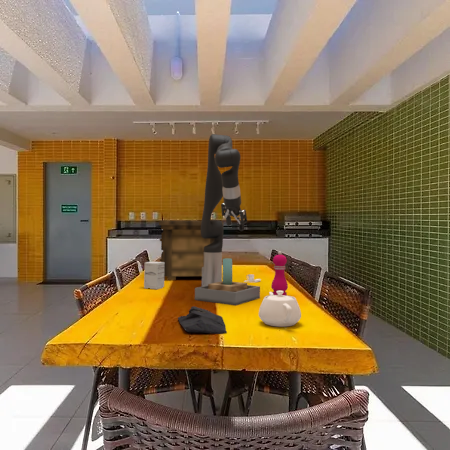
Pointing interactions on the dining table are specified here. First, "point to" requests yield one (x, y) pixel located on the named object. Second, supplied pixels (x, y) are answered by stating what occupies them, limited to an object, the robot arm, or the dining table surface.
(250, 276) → the teacup and saucer
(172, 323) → the dining table surface
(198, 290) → the tray
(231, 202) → the robot arm
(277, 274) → the pepper mill
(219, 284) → the bore block
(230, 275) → the peg
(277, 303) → the teapot
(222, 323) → the dark gray crumpled cloth
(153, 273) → the white marbled block
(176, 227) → the crate
